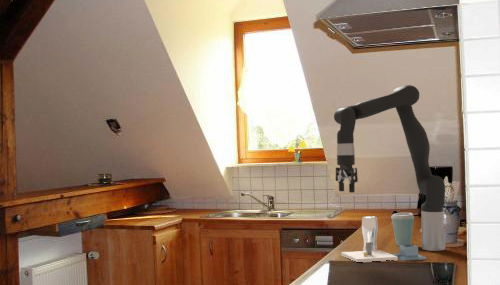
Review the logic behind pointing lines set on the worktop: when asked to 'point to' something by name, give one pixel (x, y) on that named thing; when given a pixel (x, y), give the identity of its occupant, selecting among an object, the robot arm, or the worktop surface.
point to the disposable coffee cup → (403, 227)
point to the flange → (409, 253)
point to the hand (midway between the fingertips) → (346, 191)
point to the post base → (369, 255)
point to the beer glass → (369, 231)
